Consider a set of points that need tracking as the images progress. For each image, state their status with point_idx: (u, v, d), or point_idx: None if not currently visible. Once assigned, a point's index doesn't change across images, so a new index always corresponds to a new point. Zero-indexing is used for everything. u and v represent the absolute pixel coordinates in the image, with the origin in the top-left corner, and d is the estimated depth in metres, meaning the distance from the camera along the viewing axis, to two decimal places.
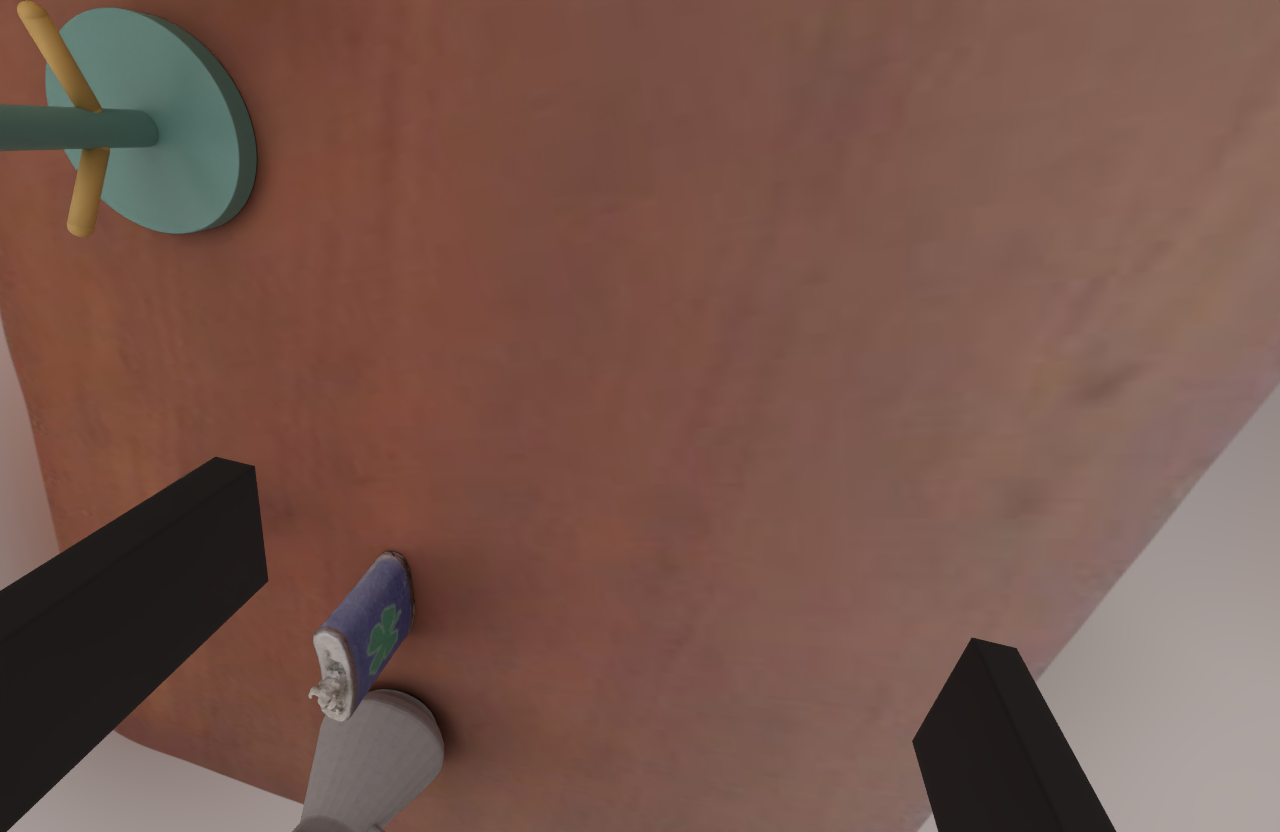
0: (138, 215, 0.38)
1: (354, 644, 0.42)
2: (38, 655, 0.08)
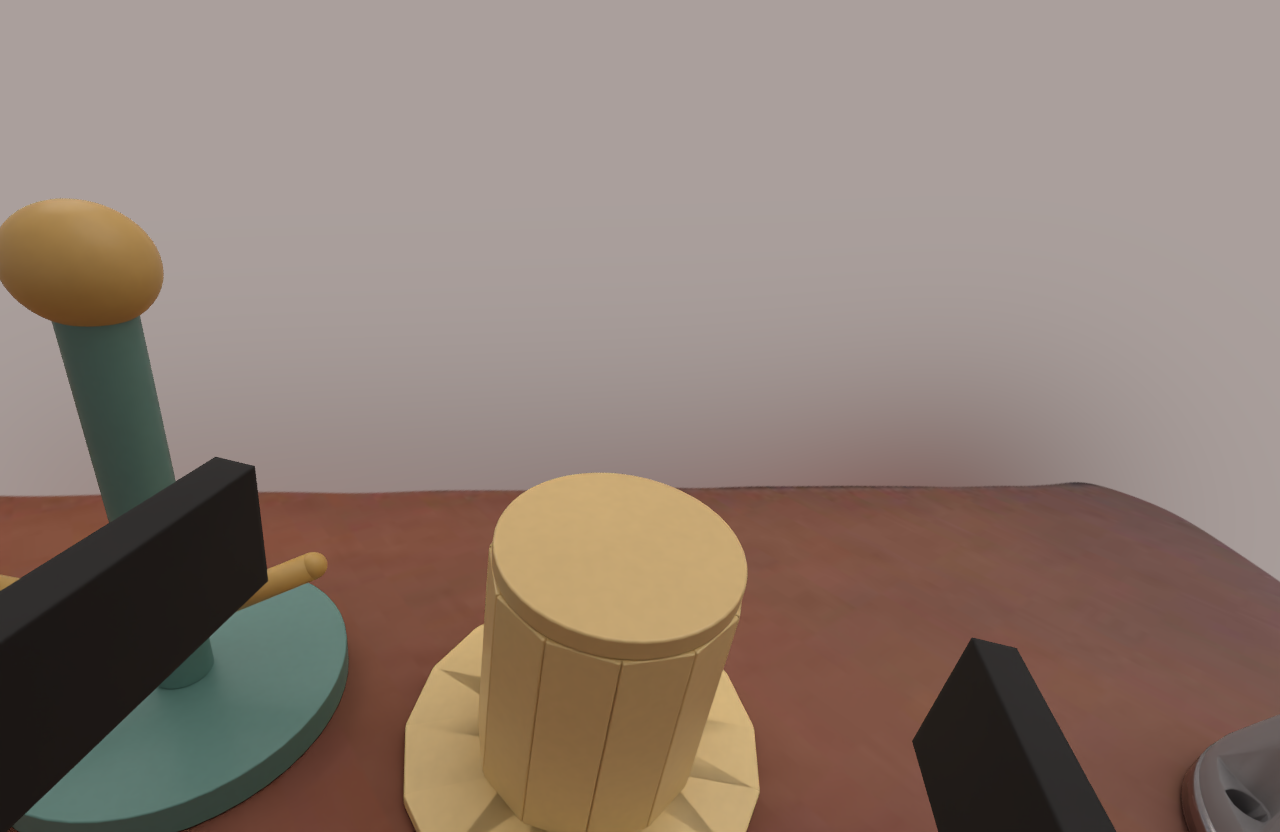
0: None
1: None
2: (38, 655, 0.08)
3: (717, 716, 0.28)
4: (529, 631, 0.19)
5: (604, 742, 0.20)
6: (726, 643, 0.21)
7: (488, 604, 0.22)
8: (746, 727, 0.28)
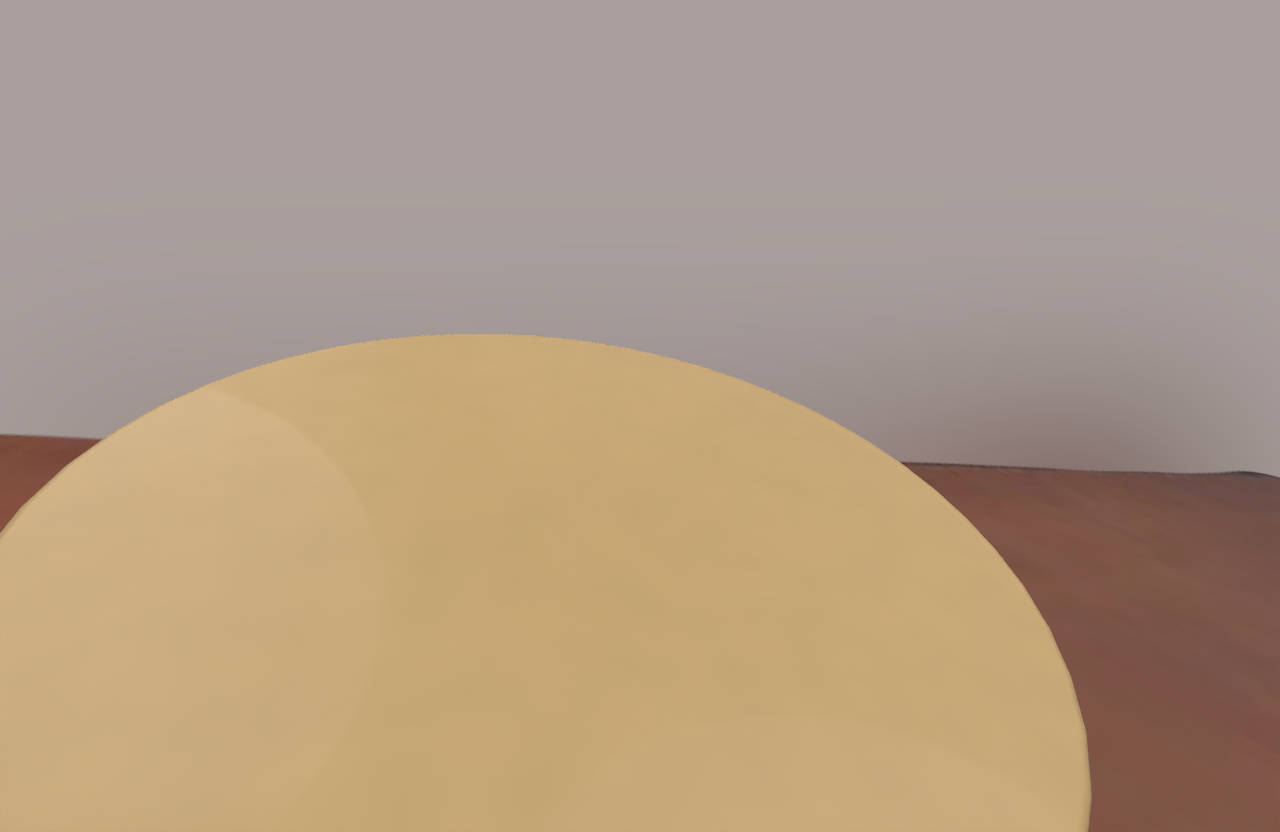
0: None
1: None
2: None
3: None
4: None
5: None
6: None
7: None
8: None
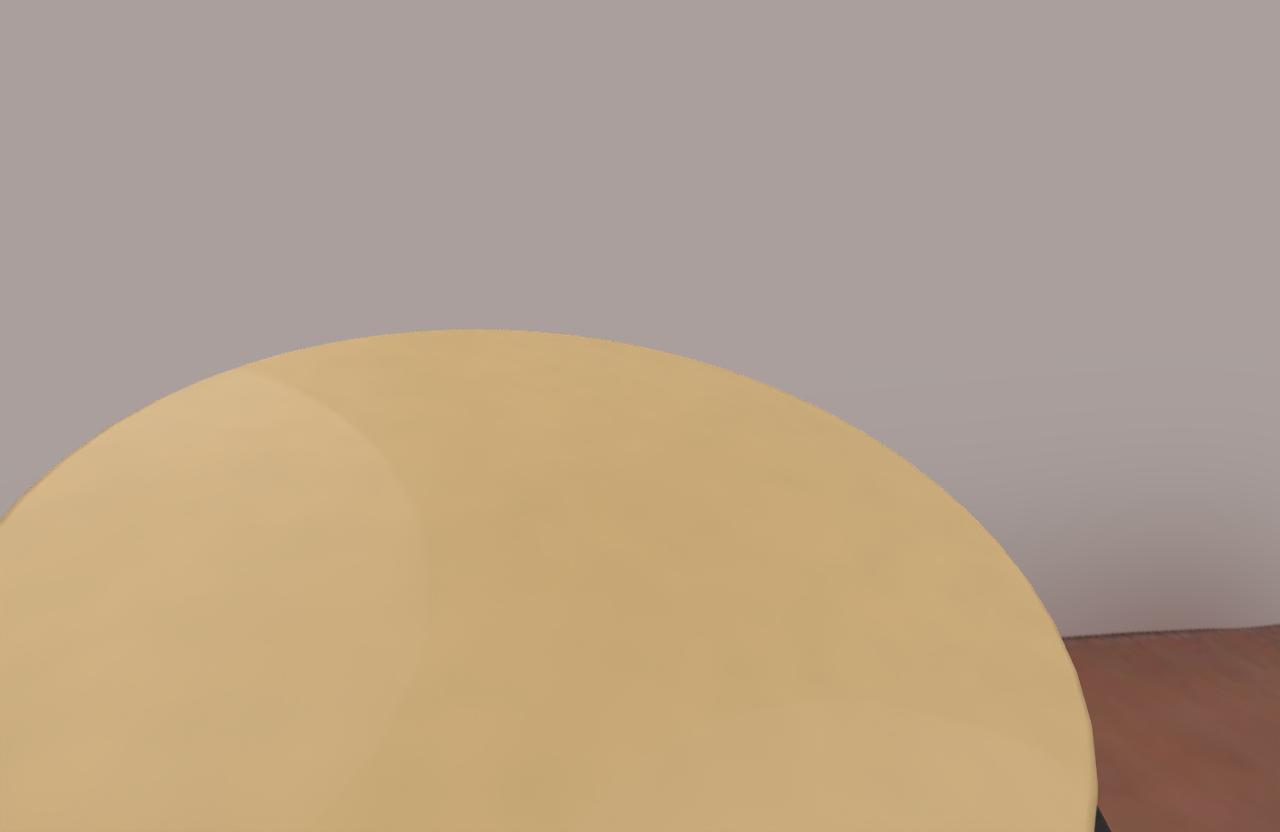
0: None
1: None
2: None
3: None
4: None
5: None
6: None
7: None
8: None
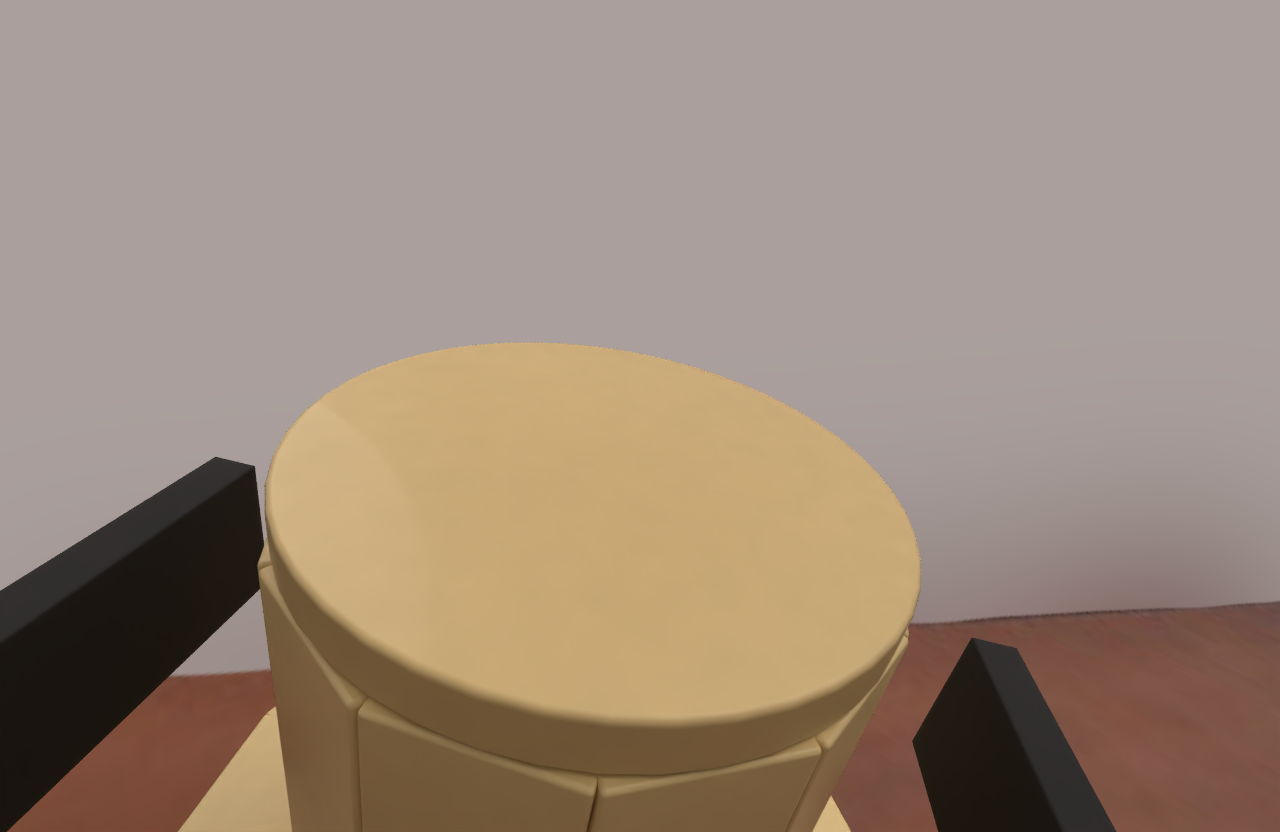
0: None
1: None
2: (38, 655, 0.08)
3: None
4: (321, 673, 0.06)
5: None
6: (874, 703, 0.08)
7: None
8: None
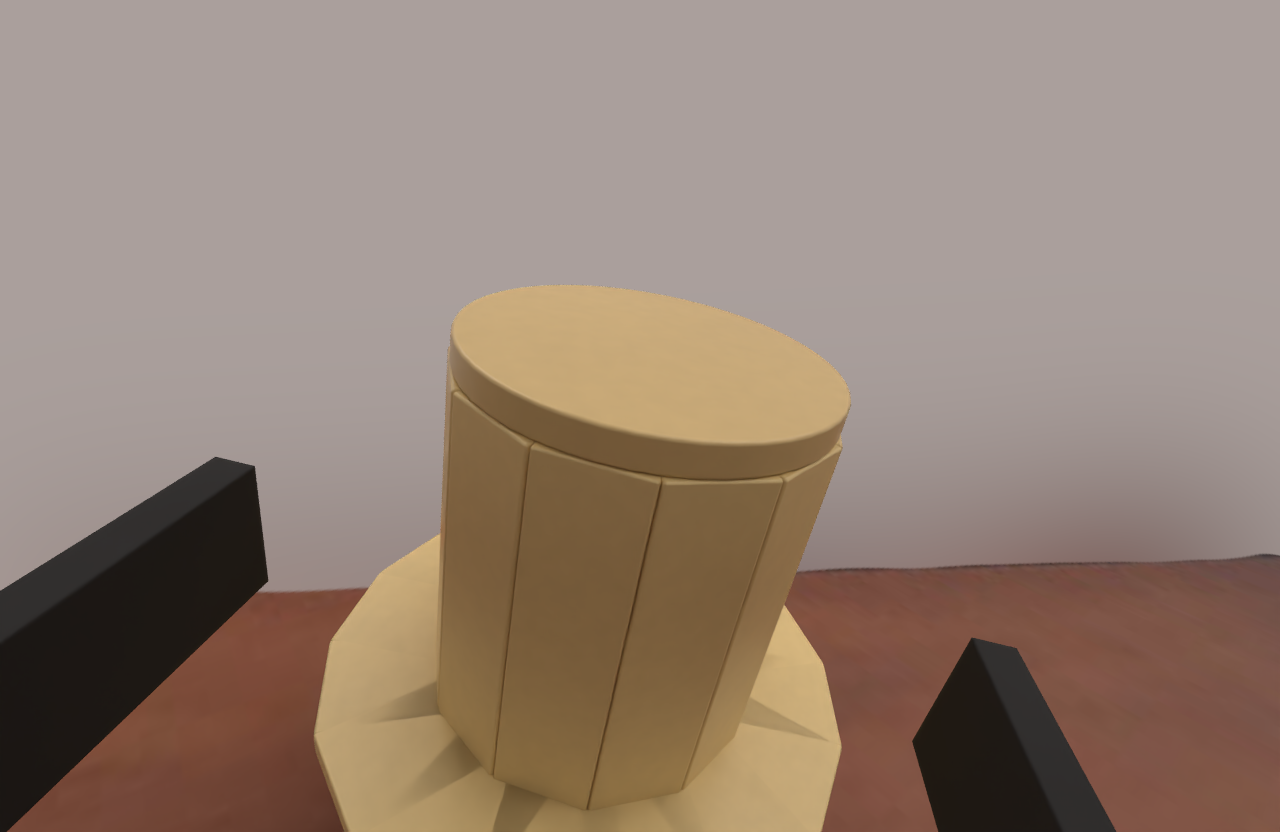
0: None
1: None
2: (38, 655, 0.08)
3: (772, 648, 0.20)
4: (504, 436, 0.11)
5: (626, 635, 0.12)
6: (821, 489, 0.13)
7: (445, 434, 0.14)
8: (813, 663, 0.20)
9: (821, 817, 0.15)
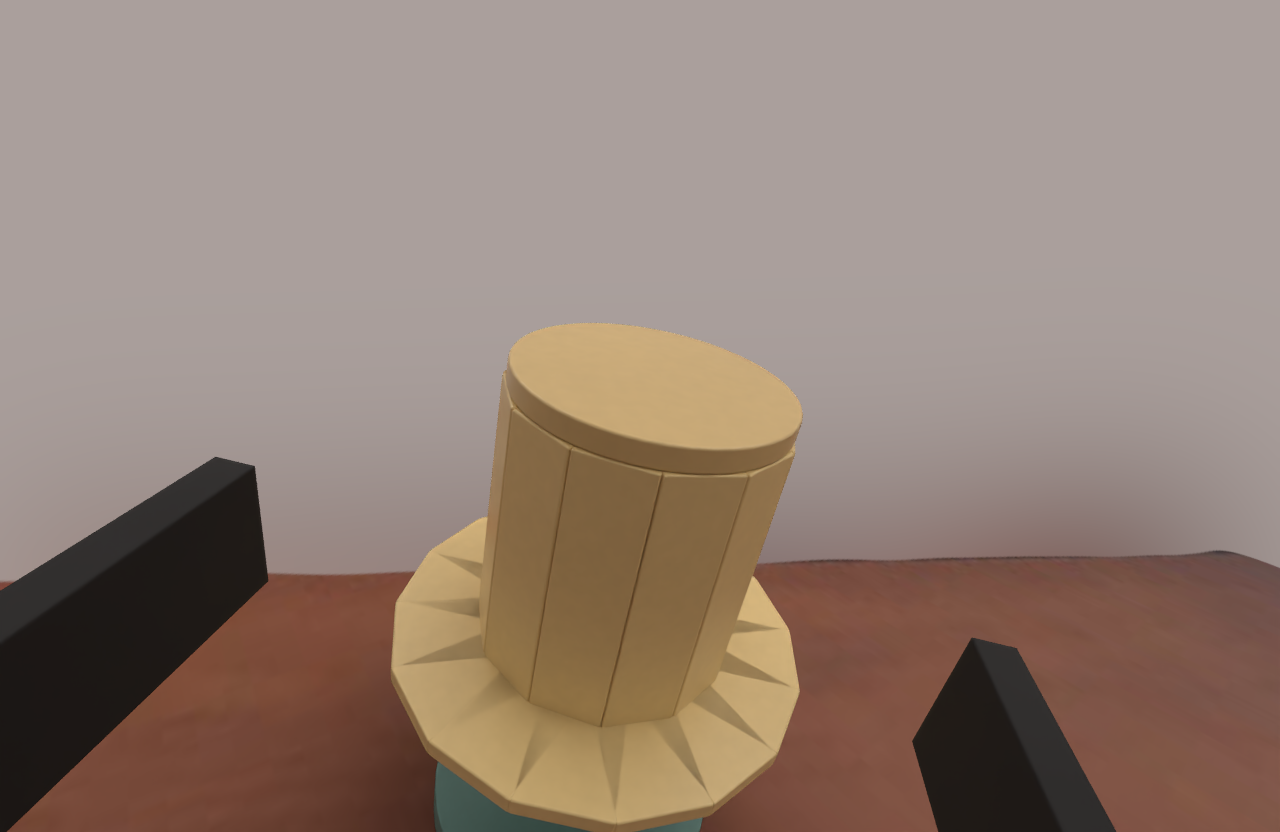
0: None
1: None
2: (38, 655, 0.08)
3: (748, 617, 0.25)
4: (551, 441, 0.16)
5: (634, 587, 0.17)
6: (778, 484, 0.18)
7: (499, 439, 0.19)
8: (781, 629, 0.25)
9: (780, 738, 0.20)
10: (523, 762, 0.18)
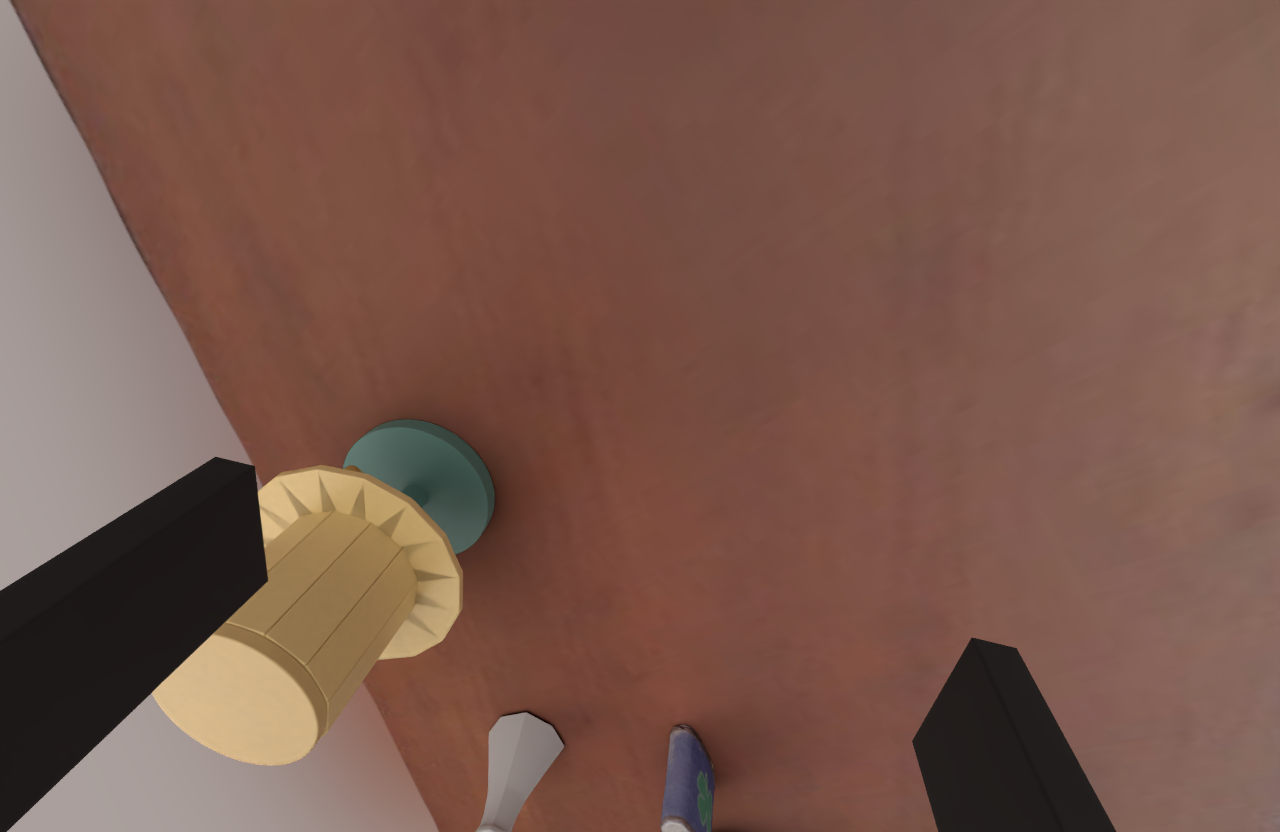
0: None
1: (692, 822, 0.50)
2: (38, 655, 0.08)
3: (316, 492, 0.37)
4: (321, 735, 0.32)
5: (368, 646, 0.34)
6: (285, 626, 0.30)
7: None
8: (318, 474, 0.37)
9: (399, 500, 0.37)
10: (442, 609, 0.40)
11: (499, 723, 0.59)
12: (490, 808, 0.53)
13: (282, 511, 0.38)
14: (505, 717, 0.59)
